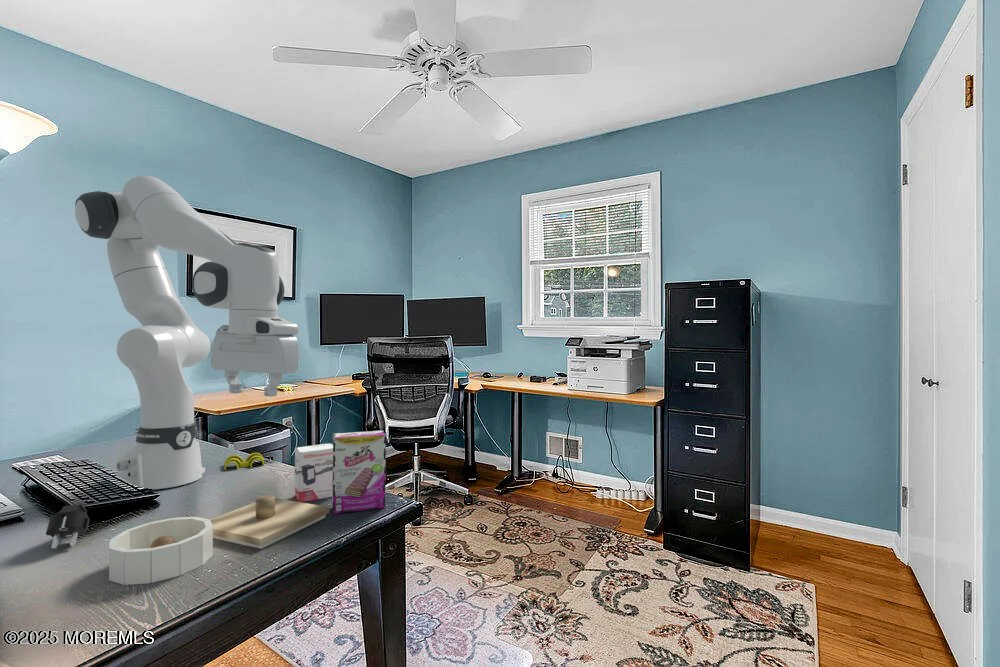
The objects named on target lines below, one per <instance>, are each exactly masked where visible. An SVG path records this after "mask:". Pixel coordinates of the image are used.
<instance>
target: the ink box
mask: <svg viewBox="0 0 1000 667" xmlns="http://www.w3.org/2000/svg"><path fill="white" fill-rule="evenodd" d="M332 479H333V443H321V444H314V445H307V446H297V448H295V449H294V489H295V490H294V492H295V493H294V495H295V498H296V501H297V502H302V503H306V502H310V501H315V500H321V499H327V498H332ZM305 501H306V502H305Z"/></svg>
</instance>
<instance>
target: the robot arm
mask: <svg viewBox="0 0 1000 667" xmlns="http://www.w3.org/2000/svg"><path fill="white" fill-rule="evenodd" d="M74 215H75V218H76V219H75V220H76V222H77V223H78V226H79V227H80V229H81V231H82V232H84V234H86V235H87V236H89V237H90V238H96V239H103V240H108V241H107V243H106V250H107V258H108V263H109V267H110V271H111V275H112V277H113V280H114V282H115V286H116V288H117V289H116V290H117V291H118V294H119V296H120V299H121V302H122V304H123V307H124V309H125V310H126V312H127V313H129V314H130V315H131V316H133V317H134V318H135V319H136V320H137V321H138V322H139V323H140V324H141V325H142V326H139V327H136V328H132V329H130V330H127V331H126V332H124V333H123V334H122V335H121V336H120V337H119V338H118V341H117V344H116V355H117V357H118V359H119V361H120V363H121V364H123V365H124V366H125V367H126V368H127V369H128V370H129V371H130V373H131V374H132V376H133V378H134V381H135V383H136V386H137V390H138V394H139V401H140V404H139V405H140V427H139V428H136V429H134V431H135V432H134V435H135V434H136V438H135V443H134V444H133V445H132V446H130V447H129V449H127V450H126V451H125V452H124V453H123V454H122V455H121V456H120V457H119V458H118V461H117V462H116V470H117V472H116V473H117V474H116V475H117V476H119V477H121V478H123V479H124V480H126V481H128V482H129V483H131V484H133V485H135V486H138V487H144V488H148V489H152V490H160V489H162V490H163V489H169V488H175V487H179V486H182V485H187V484H190V483H193V482H195V481H198V480H200V479H202V477H203V474H204V473H205V472H206V467H204V466H203V465H202V458H201V455H202V454H201V448H200V443H199V441H197V440H196V437H197V429H198V427H197V423H196V422H195V393H194V391H193V389H192V388H191V387H190V386H189V385H188V384H187V381H186V380H185V377H184V373H183V369H184V368H190V367H192V366H194V365H197V364H199V363H200V362H202V361H204V360H205V359H206V358H207V357H208V356H209V354H211V355H210V366H211V368H212V369H213V370H214V371H215V370H216V371H224V377H225V380H226V381H227V384H228V386H229V387H228V388H229V389H228V390H229V391H228V392H229V394H241V393H242V392H243V383H240V382H239V379H238V376H239V374H240V372H246V373H261V374H268V375H267V379H268V380H269V382H268V384H267V387H264V388H263V389H264V394H263V395H264V396H265V397H271V398H272V397H276V396H277V394H278V387H279V385H280V383H281V382H282V379H283V375H288V374H295V373H296V372H297V370H298V369H299V364H300V346H299V341H298V339H297V337H296V335H298V334H299V325H298V324H296V323H295V322H291V321H290V320H287V319H285V318H284V317H283V318H282V317H281V316H279V312H280V311H279V306H280V304H281V303H282V301H283V299H284V297H285V285H284V281H283V279H282V277H281V276H280V270H279V268H280V267H279V260H278V258H277V254H276V252H275V251H274V250H273V249H271V248H268V247H265V246H261V245H255V244H251V243H246V242H245V243H244V242H240V243H237V242H235V241H234V240H233V239H232V238H231V237H229V236H228V235H227V234H225V233H224V232H223V231H221V230H220V229H219V228H218V227H216V226H215V225H213V223H211V222H210V221H209V220H207V219H206V218H204V216H202V215H201V214H200V213H199V212H198V211H197V210H196V209H194V208H193V207H192V206H191V205H190V204H189V203H188V202H187V200H185V198H184V197H183V196H182V195H181V194H180V193H179V192H178V191H177V190H175V189H174V188H173V187H171V185H169V184H167V183H165V182H164V181H162V180H161V179H160V178H158V177H154V176H151V175H138V176H135V177H132V178H131V179H129V180H128V181H127V182H125V184H124V186H123V188H122V190H121V191H120V190H119V191H116V190H115V191H100V190H96V191H90V192H85V193H81V195H79V196H78V198H76V199H75V204H74ZM159 246H160V247H161V248H164V249H167V250H170V251H174V252H178V253H182V254H187V255H191V256H195V257H199V258H202V259H205V260H208V261H206V262H204V263H202V264H201V265H199V266H198V267H197V269H195V271H194V273H193V276H192V278H191V279H192V280H191V288H192V293H193V295H194V297H195V299H196V300H197V302H198V303H200V304H201V305H202V306H204V307H207V308H212V309H221V310H222V309H223V310H228V324H222V325H220V327H219V328H217V330H216V331H215V335H214V337H213V340H212V345H211V341H210V339H209V336H208V335H207V334H206V333H205V332H203V331H202V330H201V329H199V327H198V326H197V325H196V324H195V323H194V321H193V320H192V318H191V316H190V315H189V314H188V312H187V311H186V310H185V308H184V306H183V305H182V304H181V303H182V302H180V299H179V298H178V296H177V294H176V291H175V289H174V285H173V283H172V281H171V278H170V275H169V272H168V270H167V267H166V265H165V262H164V260H163V258H162V256H161V253H160V250H159ZM210 352H211V353H210ZM182 368H183V369H182Z"/></svg>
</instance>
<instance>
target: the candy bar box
mask: <svg viewBox="0 0 1000 667" xmlns="http://www.w3.org/2000/svg"><path fill="white" fill-rule="evenodd" d="M332 445H333V479H332V497H331V500H332V504H331V505H332V514H333V515H335V514H343V513H354V512H360V511H361V512H363V511H368V510H369V511H370V510H377V509H378V510H379V509H385V508H386V463H387V462H386V461H387V460H386V459H387V458H386V457H387V456H386V455H387V453H386V450H387V449H386V447H387V434H386V433H385V432H384V430H372V431H371V430H369V431H354V432H350V431H349V432H337V433H332Z"/></svg>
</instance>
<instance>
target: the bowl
mask: <svg viewBox="0 0 1000 667" xmlns="http://www.w3.org/2000/svg"><path fill="white" fill-rule="evenodd" d="M210 519H211V518H205V517H199V516H184V517H179V516H178V517H170V518H166V519H160V520H156V521H150V522H145V523H143V524H141V525H137V526H134V527H131V528H129V529H125V530H124V531H122V532H120V533H119V534H117V535H115V536H114V537H113V538H111V539H109V543H108V580H109V581H111V582H114V583H117V584H120V585H123V586H129V585H131V586H132V585H145V584H154V583H157V582H160V581H165V580H169V579H173V578H176V577H180V576H182V575H185V574H187V573H189V572H191V571H194V570H195V569H198V568H199V567H202V566H204V565H205V563H206V562H208V560H210V559H211V558H212V557H213V555H214V538H213V525H212V523H211V521H210ZM161 536H171V537H172V538H174V540H175V542H176V543H173V544H168V545H164V546H159V547H155V548H150V546H151V544H152V543H153V541H154V540H155V539H157V538H159V537H161Z"/></svg>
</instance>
